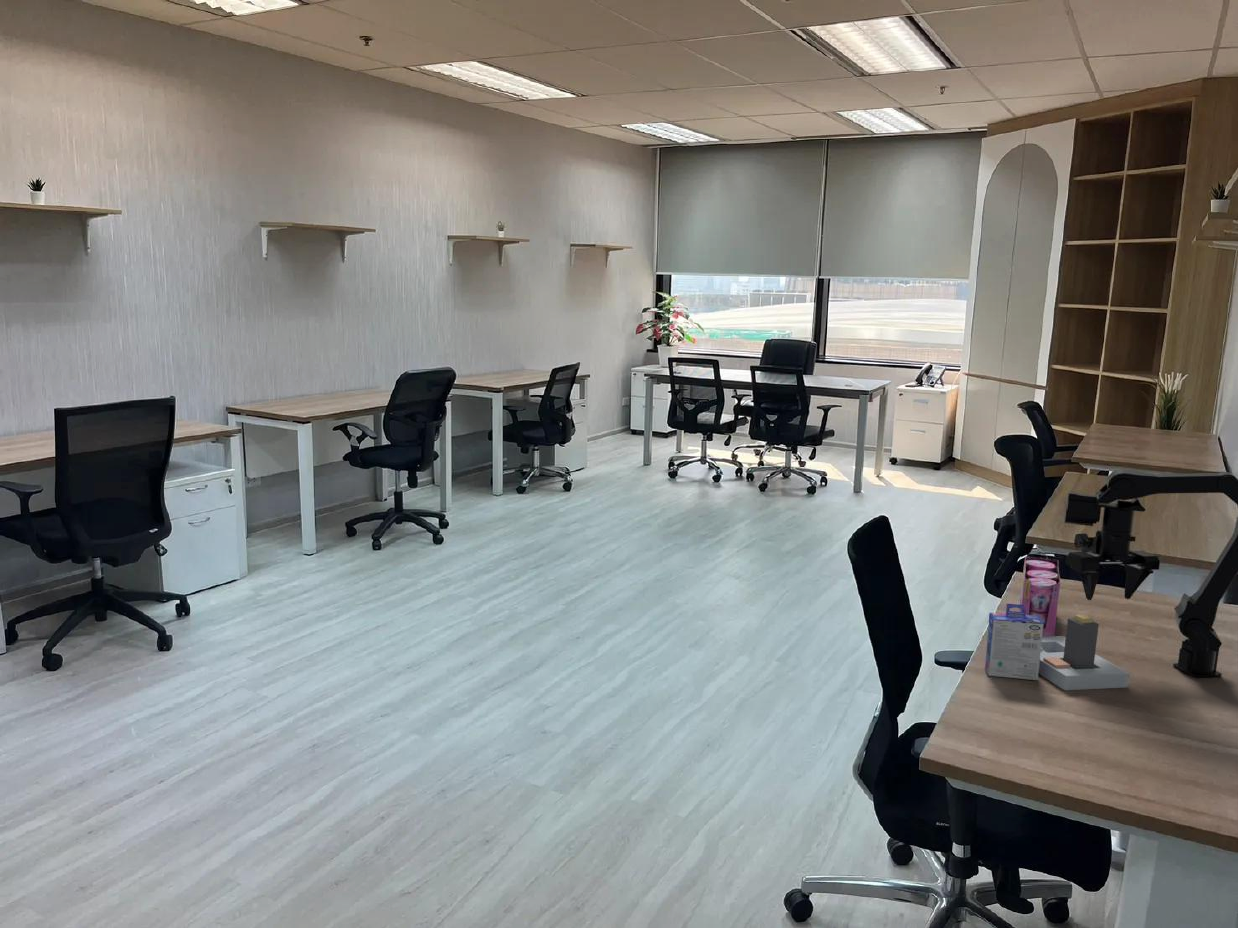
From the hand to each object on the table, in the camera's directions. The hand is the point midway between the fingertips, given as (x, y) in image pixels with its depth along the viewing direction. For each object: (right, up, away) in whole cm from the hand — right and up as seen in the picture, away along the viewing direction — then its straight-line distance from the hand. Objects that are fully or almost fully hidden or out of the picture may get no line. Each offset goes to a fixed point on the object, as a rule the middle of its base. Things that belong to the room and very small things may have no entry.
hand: (1108, 599), depth 200 cm
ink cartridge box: (-25, -14, -9) cm, 30 cm away
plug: (-12, -15, -10) cm, 21 cm away
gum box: (-5, -9, +23) cm, 25 cm away
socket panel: (-12, -14, -5) cm, 19 cm away
